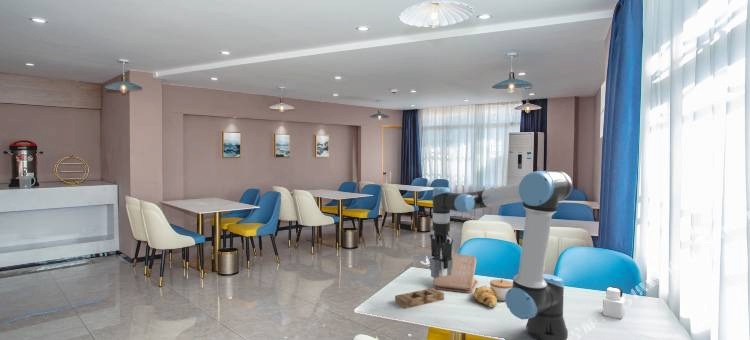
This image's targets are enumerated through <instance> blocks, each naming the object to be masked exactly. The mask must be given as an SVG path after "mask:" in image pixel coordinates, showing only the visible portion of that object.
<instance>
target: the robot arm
mask: <svg viewBox="0 0 750 340" xmlns="http://www.w3.org/2000/svg"><path fill="white" fill-rule="evenodd" d="M572 191H573V182H572V179H571V177H570V176H569V175H568V174H567V173H566V172H564V171H562V170H557V169H551V170H536V171H533V172H532V171H531V172H529V173H527V174H526V175H524V176H523V177H522V179H521V180H520V182H518V183H512V184H508V185H502V186H498V187H493V188H489V189H483V190H478V191H470V192H462V193H455V192H451V189H450V187H447V186H437V187H434V188H433V189H432V221H433V222H432V231H433V233H432V234H429V237H430V247H431V249H430V250H431V257H432V258H436V257H441V256H440V254H441V253H442V259H443V260H441V271H439V273H441V276H446V275H447V268H448V261H450V260H451V256H452V254H453V253H452V252H453V250H452V249H453V243H454V239H453V238H450V236H449V232H450V230H451V223H450V221H451V219H450V218H451V217H450V215H451V211H453V212H461V213H470V212H471V211H472V210H477V209H485V208H489V207H495V206H502V205H509V204H515V203H522V207H523V209H524V210H525V218H524V219H525V220H524V228H523V235H522V242H521V243H522V244H521V251H520V253H521V254H520V259H519V267H518V274H515V275H514V276H513V280H512V283H513V286H512V288H510V289H509V290H508V291H507V293H506V295H505V301H504V302H505V304H506V307H507V309H508V310H509V312H510V313H511V314H512V315H513V316H514V317H516V318H517V319H520V320H527V322H526V323H525V325H526V327H525V333H526V334H527V335H528V336H530V337H531V338H533V339H535V340H567V339H568V338H569V337H568V336H569V335H568V333H569V332H568V328H567V325H566V322H565V318H564V294H565V293H564V289H565V287H564V279H562V278H561V277H559V276H556V275H553V274H549V273H545V269H546V268H545V267H546V259H547V252H548V246H549V238H550V231H551V225H552V224H551V223H552V217H553V215H554V214H556V213H557V212H558V207H559V202H561V201H565V200H566V199H567V198H568V197H569V196H570V195H571V193H572Z"/></svg>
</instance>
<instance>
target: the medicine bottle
mask: <svg viewBox="0 0 750 340" xmlns="http://www.w3.org/2000/svg"><path fill="white" fill-rule="evenodd" d="M605 291H606V293H605V294H606V295H605V296H604V297H603V299H602V301H603V302H602V304H603V305H602V315H603V316H606V317H610V318H614V319H618V320H621V319H623V317H624V316H625V310H626V307H625V306H626V298H624V297H623V289H622V288H620V287H618V286H615V285H614V286H613V285H611V286H610V285H609V286H607V287H606V290H605Z"/></svg>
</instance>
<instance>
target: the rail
mask: <svg viewBox="0 0 750 340" xmlns="http://www.w3.org/2000/svg"><path fill="white" fill-rule="evenodd" d="M444 300H445V293H444V292H442V291H440V290H439V289H435V288H434V287H430V288H426V289H420V290H416V291H411V292H405V293H402V294H396V295H394V302H395V303H396V304H398V306H401V307H402V308H404V309H409V308H413V307H419V306H422V305H426V304H431V303H435V302H440V301H444Z"/></svg>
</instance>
